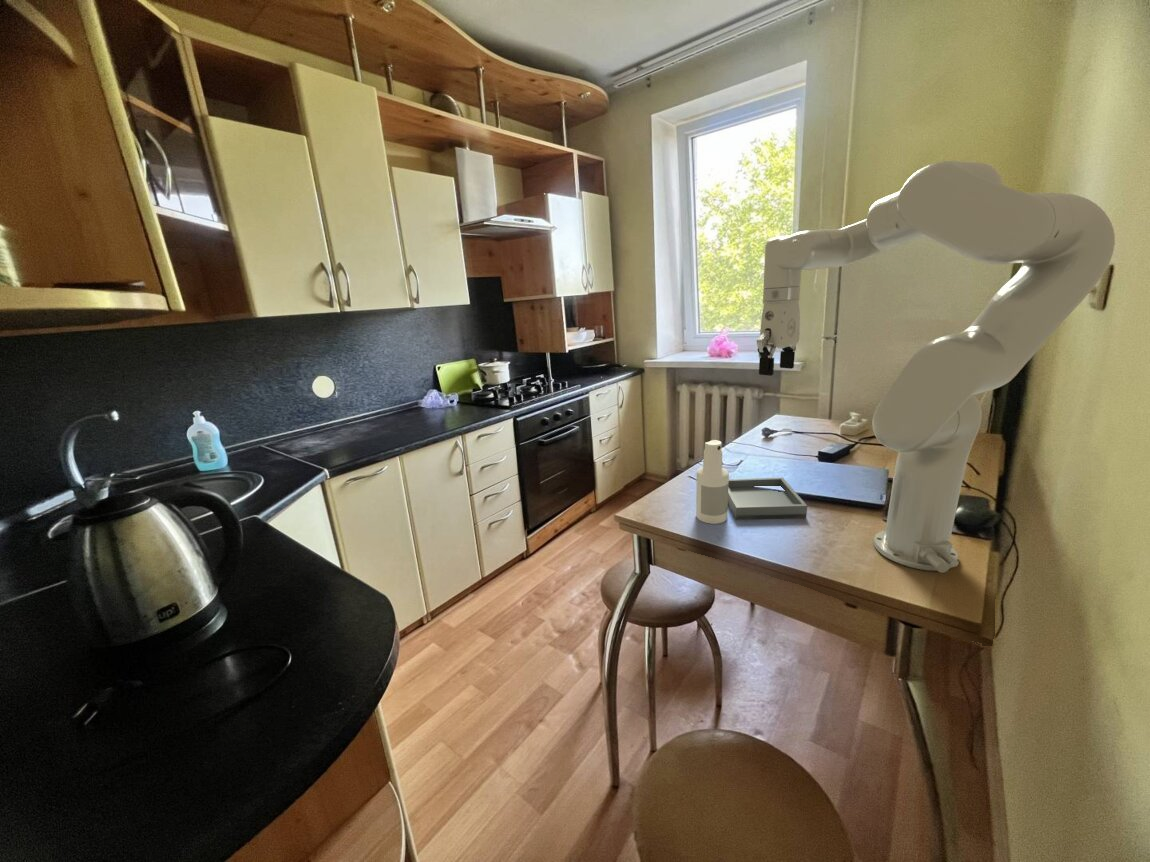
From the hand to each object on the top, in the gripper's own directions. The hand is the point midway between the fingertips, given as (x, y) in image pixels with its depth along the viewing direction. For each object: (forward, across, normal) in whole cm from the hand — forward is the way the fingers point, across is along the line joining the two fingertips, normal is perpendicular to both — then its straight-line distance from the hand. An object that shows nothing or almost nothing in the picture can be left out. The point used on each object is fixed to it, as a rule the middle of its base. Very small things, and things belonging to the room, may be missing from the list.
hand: (776, 371), depth 106 cm
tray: (+30, -10, -3) cm, 31 cm away
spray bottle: (+30, -23, +2) cm, 38 cm away
